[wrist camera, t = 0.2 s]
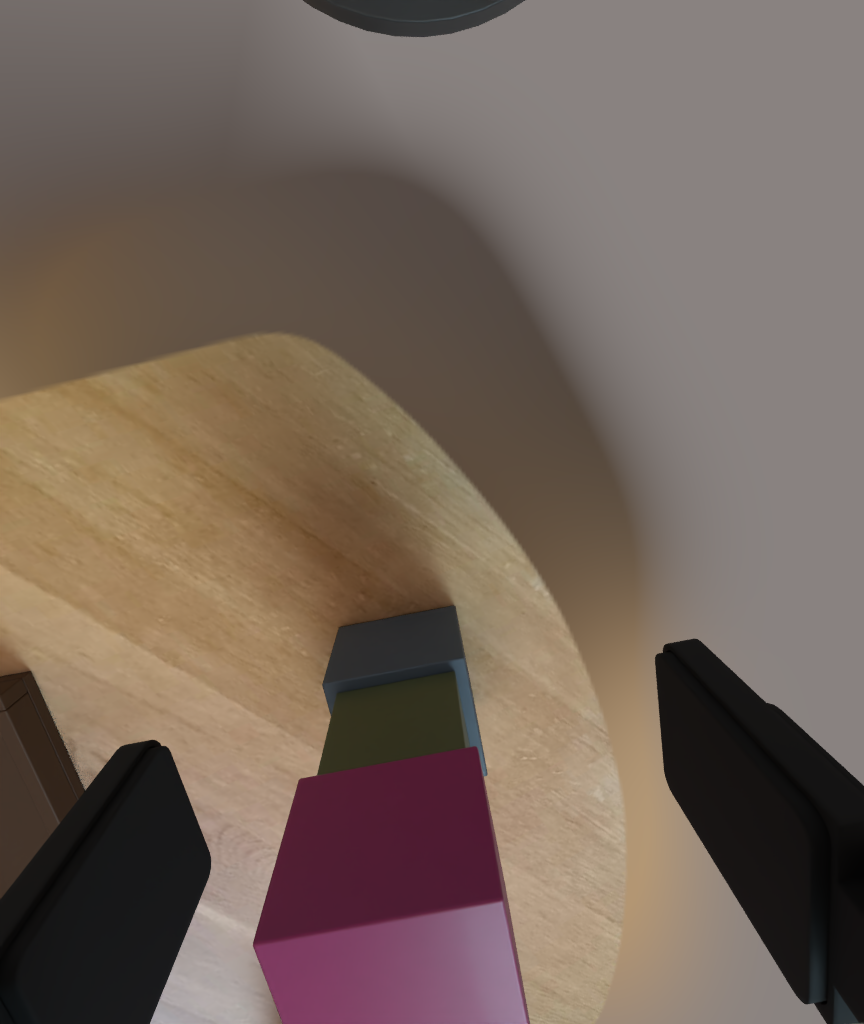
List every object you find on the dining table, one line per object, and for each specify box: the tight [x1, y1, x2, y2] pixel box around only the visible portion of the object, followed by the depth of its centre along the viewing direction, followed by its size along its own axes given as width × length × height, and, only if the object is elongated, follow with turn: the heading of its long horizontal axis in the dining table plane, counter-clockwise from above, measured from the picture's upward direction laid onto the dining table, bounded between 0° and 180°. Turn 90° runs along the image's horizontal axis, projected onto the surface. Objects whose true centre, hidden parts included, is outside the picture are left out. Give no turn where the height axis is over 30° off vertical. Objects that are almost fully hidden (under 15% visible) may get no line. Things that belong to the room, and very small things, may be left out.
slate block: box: [322, 606, 487, 776], centre depth 24 cm, size 6×6×5 cm
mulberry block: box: [253, 746, 530, 1024], centre depth 15 cm, size 6×6×5 cm
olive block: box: [317, 671, 470, 775], centre depth 20 cm, size 5×5×5 cm
